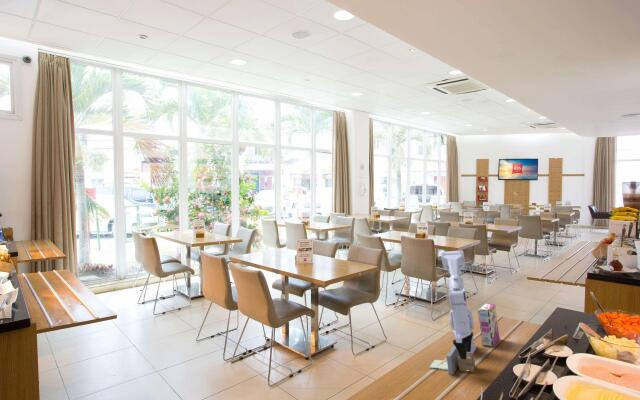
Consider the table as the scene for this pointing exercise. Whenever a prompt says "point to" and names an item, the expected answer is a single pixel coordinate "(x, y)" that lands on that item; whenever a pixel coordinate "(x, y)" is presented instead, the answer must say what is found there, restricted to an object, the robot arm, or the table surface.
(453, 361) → the slate screen
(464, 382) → the table surface
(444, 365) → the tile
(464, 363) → the walnut letter cube
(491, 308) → the candy bar box
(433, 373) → the table surface
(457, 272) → the robot arm
